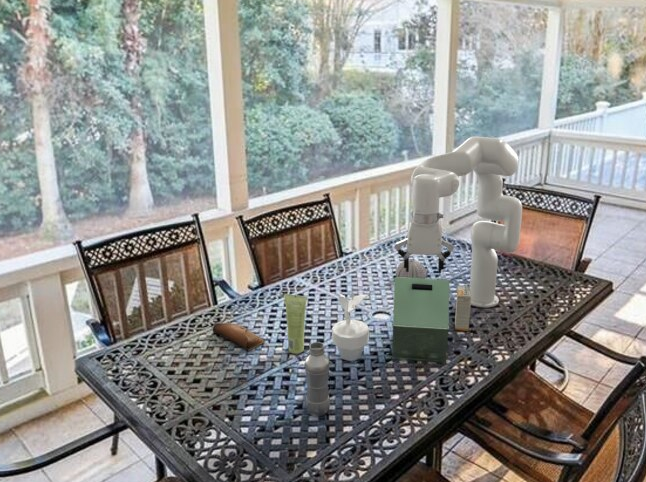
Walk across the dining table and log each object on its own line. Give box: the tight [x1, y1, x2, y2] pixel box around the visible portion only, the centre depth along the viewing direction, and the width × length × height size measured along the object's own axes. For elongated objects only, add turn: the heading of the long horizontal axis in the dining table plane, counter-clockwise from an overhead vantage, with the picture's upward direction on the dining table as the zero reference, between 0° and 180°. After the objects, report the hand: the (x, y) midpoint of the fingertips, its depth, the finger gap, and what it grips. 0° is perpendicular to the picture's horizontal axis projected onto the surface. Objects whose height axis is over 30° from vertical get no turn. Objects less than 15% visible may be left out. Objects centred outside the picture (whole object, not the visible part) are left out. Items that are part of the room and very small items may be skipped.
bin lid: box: [392, 276, 451, 329], centre depth 161 cm, size 14×17×5 cm
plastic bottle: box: [304, 341, 331, 417], centre depth 140 cm, size 6×7×20 cm
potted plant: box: [331, 289, 370, 362], centre depth 165 cm, size 13×12×25 cm
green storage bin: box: [391, 324, 449, 364], centre depth 170 cm, size 14×17×12 cm
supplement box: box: [454, 285, 472, 332], centre depth 185 cm, size 8×5×13 cm, turn 168°
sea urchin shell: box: [395, 259, 428, 279], centre depth 223 cm, size 13×14×8 cm
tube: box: [283, 293, 308, 355], centre depth 169 cm, size 6×5×20 cm
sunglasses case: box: [212, 322, 265, 352], centre depth 179 cm, size 18×7×7 cm
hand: (423, 270), depth 161 cm, fingers open, 9 cm apart
